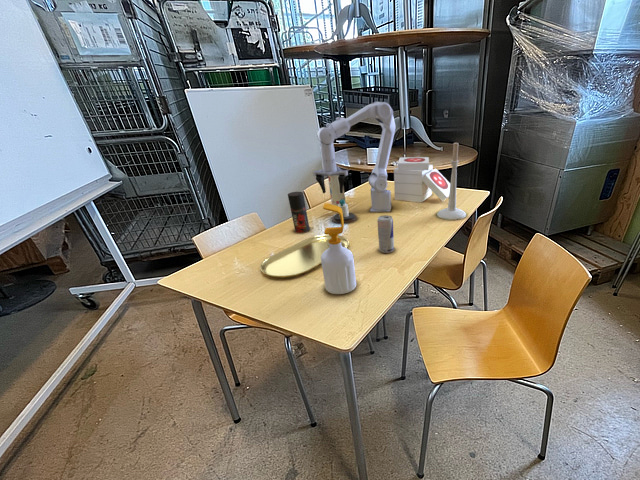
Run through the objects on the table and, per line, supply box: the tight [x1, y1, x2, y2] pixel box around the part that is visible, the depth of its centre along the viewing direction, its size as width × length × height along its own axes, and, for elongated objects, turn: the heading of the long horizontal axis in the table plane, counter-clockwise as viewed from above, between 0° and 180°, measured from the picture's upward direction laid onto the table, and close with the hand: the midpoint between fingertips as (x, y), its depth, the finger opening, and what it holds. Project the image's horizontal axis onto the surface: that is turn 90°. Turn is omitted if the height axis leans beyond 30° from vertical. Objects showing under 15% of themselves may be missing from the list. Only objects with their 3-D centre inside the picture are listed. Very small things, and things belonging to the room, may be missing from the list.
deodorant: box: [287, 191, 311, 234], centre depth 134 cm, size 6×6×15 cm
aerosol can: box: [327, 164, 346, 206], centre depth 160 cm, size 7×7×20 cm
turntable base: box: [331, 213, 358, 225], centre depth 148 cm, size 11×11×1 cm
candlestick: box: [436, 142, 467, 221], centre depth 142 cm, size 13×13×30 cm
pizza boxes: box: [393, 156, 451, 203], centre depth 168 cm, size 19×30×18 cm, turn 65°
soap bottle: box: [321, 202, 357, 295], centre depth 92 cm, size 9×9×25 cm
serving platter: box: [259, 234, 350, 279], centre depth 116 cm, size 19×35×2 cm, turn 148°
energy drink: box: [376, 214, 395, 254], centre depth 117 cm, size 5×5×12 cm
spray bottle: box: [333, 198, 355, 221], centre depth 146 cm, size 9×9×8 cm
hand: (333, 192), depth 147 cm, fingers open, 7 cm apart
